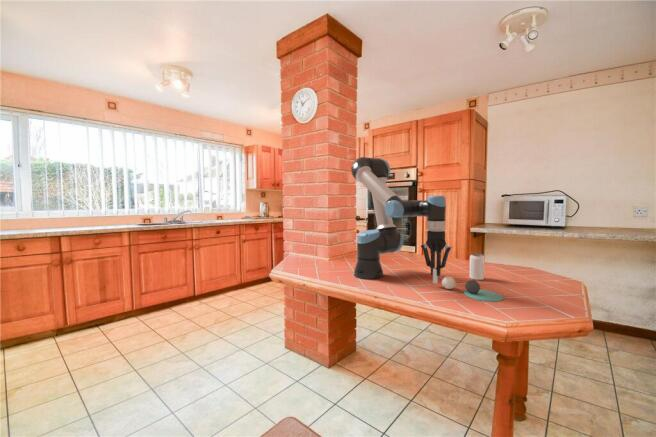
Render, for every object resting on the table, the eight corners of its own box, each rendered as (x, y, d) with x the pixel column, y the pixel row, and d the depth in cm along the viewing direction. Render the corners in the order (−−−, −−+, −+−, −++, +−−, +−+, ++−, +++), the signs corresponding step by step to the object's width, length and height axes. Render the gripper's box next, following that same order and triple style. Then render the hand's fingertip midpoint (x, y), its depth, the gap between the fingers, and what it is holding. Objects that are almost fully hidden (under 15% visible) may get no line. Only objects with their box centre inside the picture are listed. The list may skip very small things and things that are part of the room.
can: (486, 280, 131) (486, 256, 130) (471, 280, 132) (472, 255, 131) (481, 277, 137) (482, 253, 136) (467, 276, 138) (468, 253, 138)
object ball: (464, 277, 115) (479, 277, 112) (467, 284, 118) (481, 285, 114) (463, 288, 112) (478, 289, 108) (466, 295, 114) (480, 297, 111)
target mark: (457, 290, 117) (457, 289, 117) (489, 289, 118) (489, 288, 118) (476, 302, 103) (476, 301, 103) (512, 301, 104) (512, 300, 104)
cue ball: (449, 271, 119) (460, 281, 117) (445, 277, 124) (455, 286, 121) (441, 278, 117) (452, 288, 115) (437, 284, 122) (447, 293, 119)
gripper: (418, 230, 122) (418, 281, 124) (449, 232, 114) (448, 287, 115) (424, 228, 128) (424, 278, 129) (454, 230, 120) (453, 283, 121)
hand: (435, 282), depth 122 cm, fingers closed
